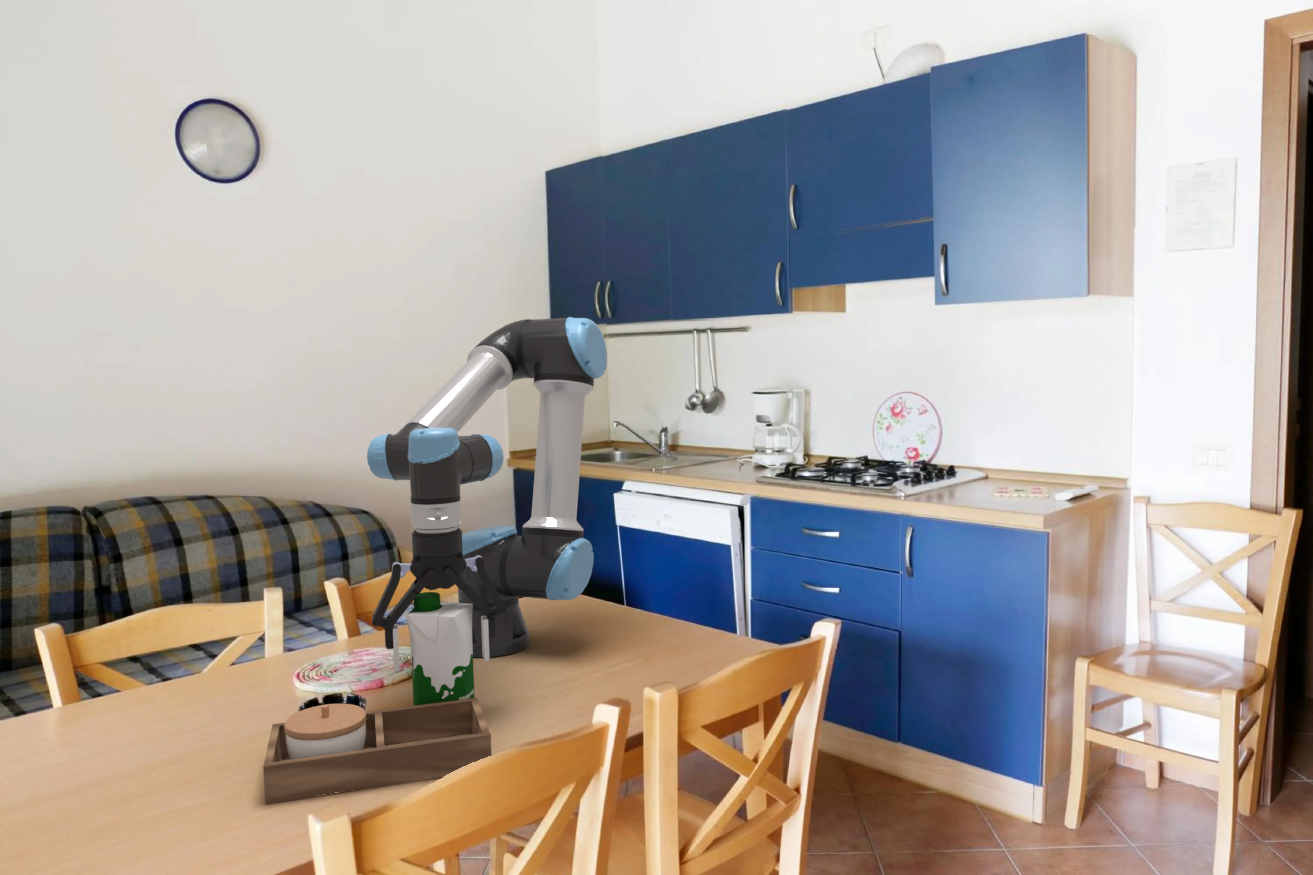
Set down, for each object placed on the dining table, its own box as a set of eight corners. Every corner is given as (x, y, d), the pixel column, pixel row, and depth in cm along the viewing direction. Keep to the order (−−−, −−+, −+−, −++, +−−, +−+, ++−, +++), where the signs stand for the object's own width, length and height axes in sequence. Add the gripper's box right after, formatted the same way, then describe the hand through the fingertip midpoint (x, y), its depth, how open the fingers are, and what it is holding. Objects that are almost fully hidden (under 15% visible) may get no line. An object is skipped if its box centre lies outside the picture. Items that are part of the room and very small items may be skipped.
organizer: (274, 757, 137) (272, 723, 137) (478, 729, 146) (477, 697, 145) (265, 804, 123) (263, 766, 122) (492, 769, 131) (490, 734, 131)
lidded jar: (299, 757, 137) (296, 693, 136) (376, 753, 138) (372, 690, 137) (276, 791, 126) (272, 722, 126) (359, 786, 127) (355, 718, 126)
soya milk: (430, 708, 155) (424, 587, 153) (482, 711, 153) (478, 589, 151) (405, 729, 146) (399, 601, 144) (460, 733, 144) (455, 603, 143)
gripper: (351, 539, 140) (358, 680, 141) (521, 526, 147) (525, 661, 149) (351, 530, 147) (358, 665, 148) (513, 519, 154) (517, 647, 156)
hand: (442, 663), depth 149 cm, fingers open, 13 cm apart
